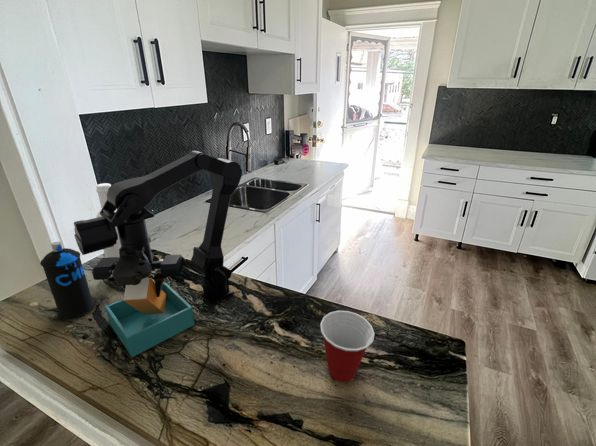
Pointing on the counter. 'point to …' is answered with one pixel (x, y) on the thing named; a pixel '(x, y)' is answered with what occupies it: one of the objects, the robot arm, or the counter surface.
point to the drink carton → (145, 297)
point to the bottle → (102, 194)
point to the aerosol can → (67, 282)
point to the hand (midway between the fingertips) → (146, 296)
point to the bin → (149, 322)
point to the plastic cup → (345, 342)
